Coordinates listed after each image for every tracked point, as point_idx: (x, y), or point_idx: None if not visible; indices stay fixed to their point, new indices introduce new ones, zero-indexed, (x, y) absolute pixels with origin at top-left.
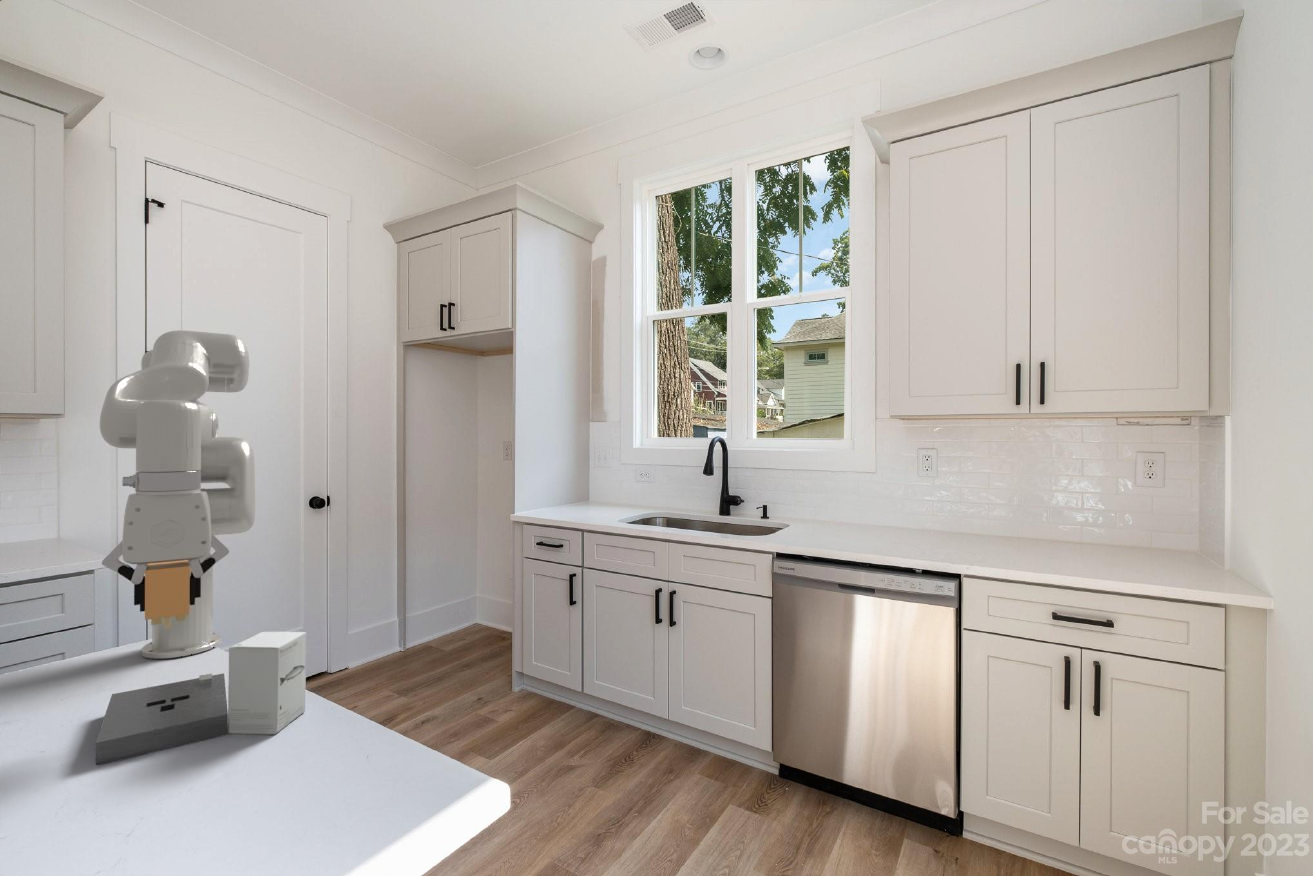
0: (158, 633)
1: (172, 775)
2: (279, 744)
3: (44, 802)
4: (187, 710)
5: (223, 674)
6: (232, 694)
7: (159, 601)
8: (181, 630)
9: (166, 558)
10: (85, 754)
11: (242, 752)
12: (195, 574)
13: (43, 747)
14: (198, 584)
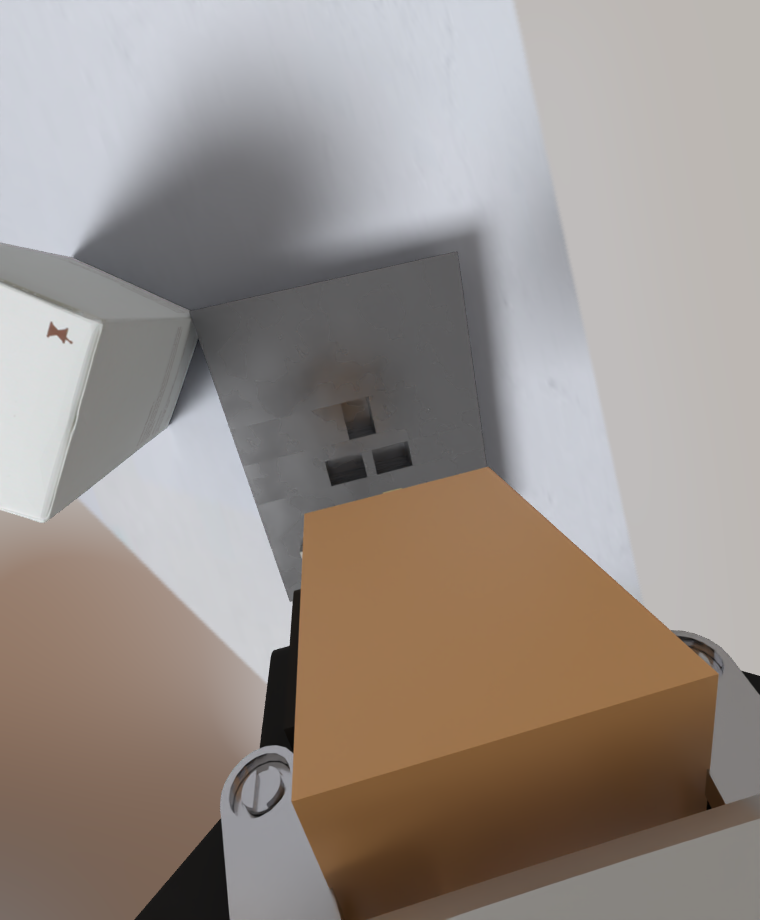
0: None
1: (262, 115)
2: (39, 186)
3: (487, 107)
4: (304, 380)
5: (289, 594)
6: (158, 310)
7: (458, 521)
8: None
9: (607, 907)
10: (475, 333)
11: (128, 179)
12: (284, 778)
13: (555, 403)
14: (276, 710)
